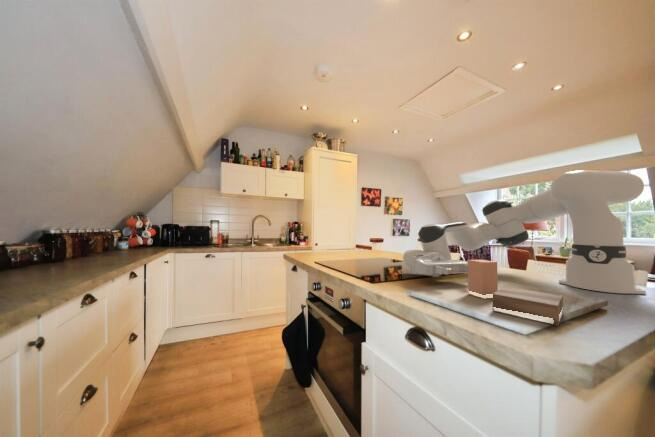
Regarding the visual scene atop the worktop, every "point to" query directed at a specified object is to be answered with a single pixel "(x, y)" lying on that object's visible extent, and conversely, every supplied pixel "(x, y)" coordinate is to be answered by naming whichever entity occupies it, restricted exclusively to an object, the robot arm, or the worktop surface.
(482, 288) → the terracotta block
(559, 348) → the worktop surface
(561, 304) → the walnut base
